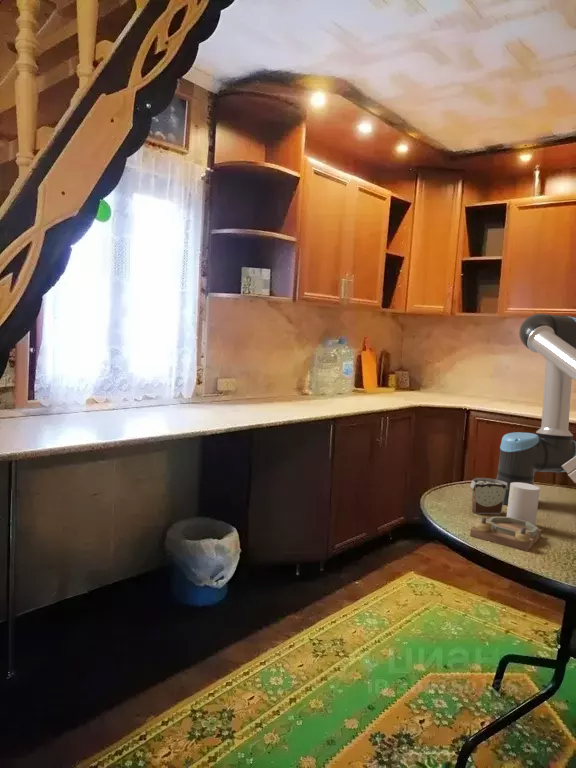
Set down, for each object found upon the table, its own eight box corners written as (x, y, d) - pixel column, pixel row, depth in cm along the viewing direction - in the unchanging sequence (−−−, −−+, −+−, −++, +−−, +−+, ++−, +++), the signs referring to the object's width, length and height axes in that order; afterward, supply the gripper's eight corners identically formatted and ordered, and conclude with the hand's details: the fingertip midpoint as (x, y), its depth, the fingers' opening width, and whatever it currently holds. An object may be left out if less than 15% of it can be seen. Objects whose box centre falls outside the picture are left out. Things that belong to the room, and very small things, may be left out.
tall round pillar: (511, 518, 179) (515, 480, 178) (538, 526, 174) (543, 487, 173) (501, 524, 173) (506, 484, 172) (530, 532, 168) (535, 491, 166)
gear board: (487, 522, 173) (489, 505, 172) (540, 536, 164) (543, 518, 164) (470, 535, 160) (472, 517, 159) (527, 551, 151) (529, 531, 151)
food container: (493, 507, 190) (497, 477, 189) (505, 513, 184) (508, 482, 183) (460, 507, 187) (463, 477, 186) (470, 513, 181) (474, 482, 180)
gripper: (655, 446, 150) (584, 494, 155) (631, 433, 173) (570, 476, 179) (634, 423, 151) (565, 472, 157) (613, 414, 175) (553, 456, 180)
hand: (567, 474), depth 168 cm, fingers open, 13 cm apart
